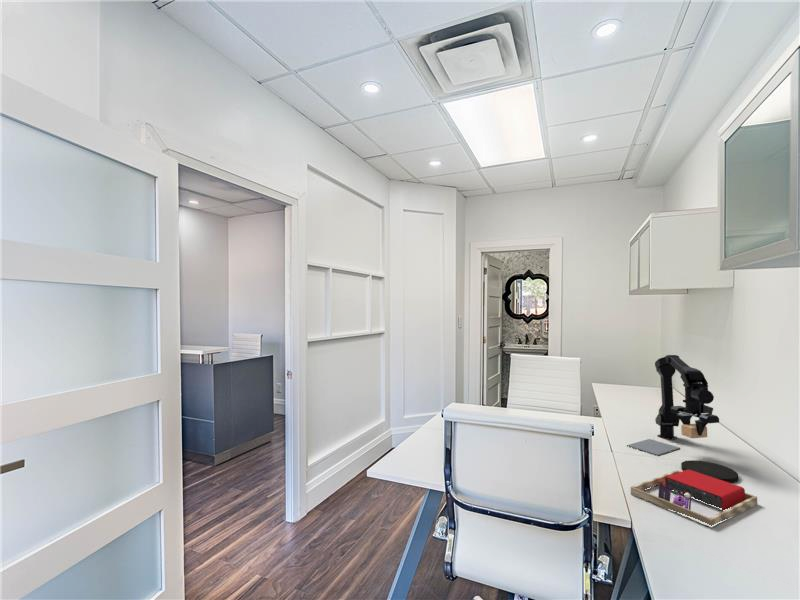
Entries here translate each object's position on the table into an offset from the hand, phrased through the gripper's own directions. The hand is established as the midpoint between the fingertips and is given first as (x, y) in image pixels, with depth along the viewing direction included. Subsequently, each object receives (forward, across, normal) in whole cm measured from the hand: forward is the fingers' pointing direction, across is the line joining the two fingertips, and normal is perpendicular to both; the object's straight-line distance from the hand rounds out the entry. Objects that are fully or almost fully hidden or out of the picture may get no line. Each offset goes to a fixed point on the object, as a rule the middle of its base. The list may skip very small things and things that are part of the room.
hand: (694, 433), depth 172 cm
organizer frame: (+10, -32, +36) cm, 49 cm away
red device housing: (+10, -30, +30) cm, 44 cm away
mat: (+10, +13, +9) cm, 19 cm away
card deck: (+1, 0, 0) cm, 1 cm away
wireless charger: (+10, -16, +11) cm, 22 cm away
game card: (+10, -35, +47) cm, 59 cm away
